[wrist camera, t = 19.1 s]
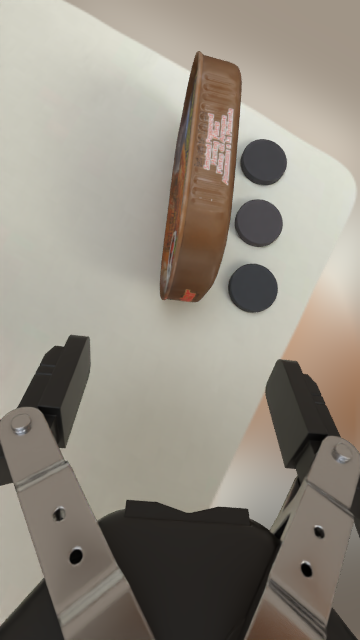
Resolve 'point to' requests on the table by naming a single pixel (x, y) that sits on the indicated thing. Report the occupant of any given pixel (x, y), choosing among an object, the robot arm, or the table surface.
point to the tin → (202, 180)
